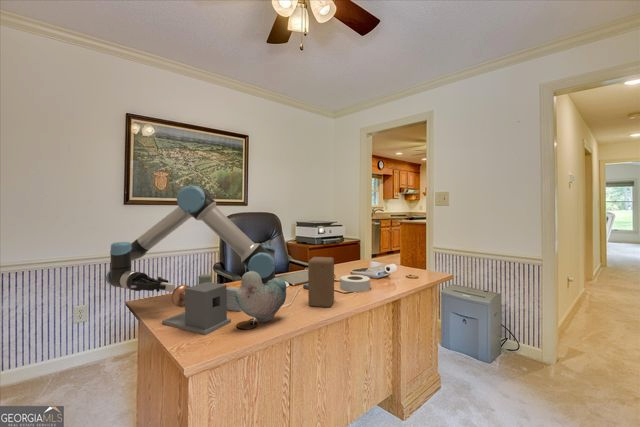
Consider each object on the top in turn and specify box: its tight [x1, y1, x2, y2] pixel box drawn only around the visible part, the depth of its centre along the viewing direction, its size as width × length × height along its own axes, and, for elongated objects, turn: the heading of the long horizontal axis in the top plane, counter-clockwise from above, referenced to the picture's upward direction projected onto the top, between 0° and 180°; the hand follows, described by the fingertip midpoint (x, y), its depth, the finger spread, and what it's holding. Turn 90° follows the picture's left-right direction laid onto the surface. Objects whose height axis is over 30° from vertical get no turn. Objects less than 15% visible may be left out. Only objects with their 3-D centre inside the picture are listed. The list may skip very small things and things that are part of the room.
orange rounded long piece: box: [171, 284, 191, 308], centre depth 110 cm, size 14×8×8 cm, turn 64°
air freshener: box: [198, 273, 213, 284], centre depth 143 cm, size 11×8×10 cm
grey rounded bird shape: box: [235, 270, 287, 323], centre depth 110 cm, size 21×9×20 cm, turn 130°
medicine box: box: [226, 286, 243, 312], centre depth 124 cm, size 8×4×9 cm, turn 71°
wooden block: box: [307, 256, 335, 308], centre depth 131 cm, size 10×10×20 cm
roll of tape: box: [339, 274, 371, 293], centre depth 156 cm, size 16×16×6 cm
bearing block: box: [161, 282, 232, 336], centre depth 110 cm, size 22×12×14 cm, turn 64°
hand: (173, 288), depth 115 cm, fingers closed
